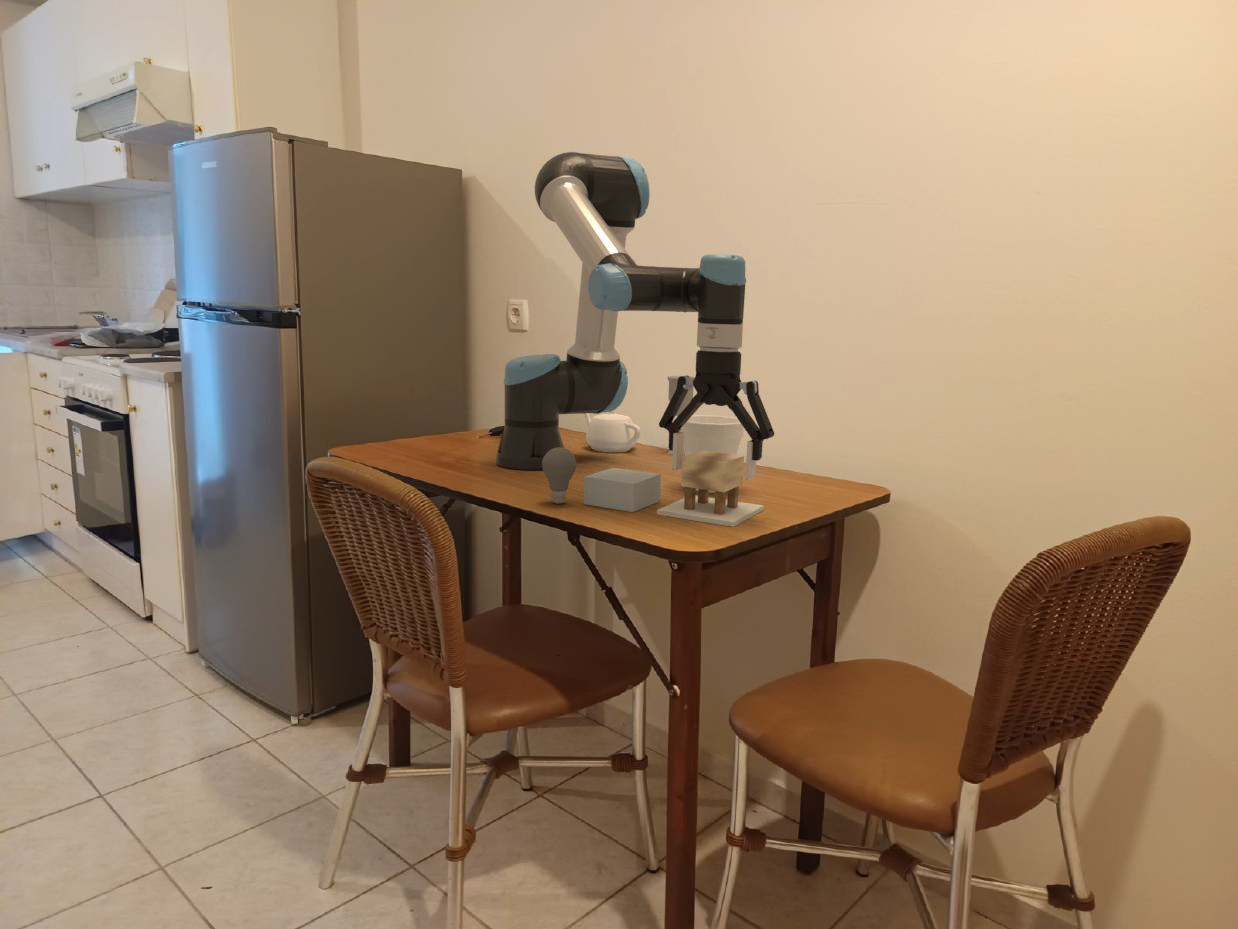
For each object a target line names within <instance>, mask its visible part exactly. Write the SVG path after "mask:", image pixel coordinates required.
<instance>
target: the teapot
mask: <svg viewBox="0 0 1238 929" xmlns="http://www.w3.org/2000/svg"><path fill="white" fill-rule="evenodd" d="M616 411H617V409H615V410H614V411H611V412H606V413H604V414H602V413H601V414H596V415H594V416H593V417H592V418H591V417H590V413H583V415H584V417H585V419H586V424H587V431H586V434H585V440H586V442H587V445H589V446H590V448H591V449H592V450H593V449H594V450H593V451H595V450H597V451H596V452H600V451H602V453H617V452H618V453H625V452H628V451H630V450H631V449H632V448H633V447H634V446H635V445H636V443H637V441H638V440H639V439H640V437H641V432H642V431H641V428H640V426H639V425H638V424H635V423H634V422H633V420H632V418H631V417H630V416H628V415H623V414H621V413H619V414H618V413H617V412H616Z"/></svg>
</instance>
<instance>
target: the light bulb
mask: <svg viewBox="0 0 1238 929" xmlns="http://www.w3.org/2000/svg"><path fill="white" fill-rule="evenodd" d="M542 468H543V469H542V470H543V474H544V475H545V477H546V478H547V481H548V485H549V488H550V490H551V491H550V494H551V496H550V497H551V499H550V501H551V502H553V503H555V504H556V505H560V504H563V503H565V502H566V501H567V490H568V488H569V484H570V482H571V479H572V477H573V475H574V474H575V472H576V469H577V461H576V458H575V455H574V454H573V453H572V452H571V451H570V449H567V448H565V447H564V448H560V447H558V448H553V449H551V450H550V451H548V452H547V453H546V455H545V456H544V458H543V461H542Z"/></svg>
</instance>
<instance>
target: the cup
mask: <svg viewBox="0 0 1238 929" xmlns="http://www.w3.org/2000/svg"><path fill="white" fill-rule="evenodd" d="M680 432H684V446H683V447H684V452H685V455H684V457H685V456H688V455H691V454H694V453H697V452H700V451H708V452H716V453H724V454H733V455H738V454H737V453H738V451H739V449H740V448H739V446H740V444H741V440H742V438H744V427H743V426H742V424H741V423H740V421H739V420H738V418H737V417H733V416H725V415H717V414H716V415H714V414H713V415H711V414H710V415H709V414H693V415H692V416H691V417H690V419H689V420H688V421H687V422H686V423H685V424H684V425H683V426H682V428H681V430H680ZM696 492H698V489H697V488H696ZM709 494H715V491H711V490H709Z"/></svg>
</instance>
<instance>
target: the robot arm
mask: <svg viewBox="0 0 1238 929" xmlns="http://www.w3.org/2000/svg"><path fill="white" fill-rule="evenodd" d="M534 182H535V183H534V197H535V200H536V203H537V205H538V208H539V209H540V211H541V212H542V214H543V215H544V217H546V218H547V219H548V220H549V221H551V222H554V223H555V224H556V225H557V227H558V229H560V231H561V233H562V234H563V236H564V237H565V239H566V240H567V242H568V243H569V245H570V247H572V249H573V251H574V252H575V254H576V255H577V257H578V258H579V259H580V262H582V263H581V272H580V273H581V275H580V283H579V284H580V285H579V296H578V306H577V317H576V329H575V339H574V343H573V345H572V346H570V347H569V348H567V352H566V360H561V358H560V355H558V354H557V353H556V354H555V353H545V354H533V355H523V356H520V357H514V358H513V359H510V360H508V362H507V363H506V364H505V369H504V379H503V385H504V428H503V429H504V430H503V431H502V435H501V438H500V442H499V443H498V444H499V445H498V449H497V450H496V454H495V456H496V465H497V466H500V467H503V468H508V469H513V470H529V471H531V470H543V468H542V461H543V458H544V456H545V455H546V453H547V452H548V451H550V450H551V449H553V448H558V447H560V448H565V445H564V441H563V439H562V436H561V431H560V425H559V424H560V423H559V422H560V420H559V419H560V415H578V414H579V415H581V414H583V413H589V414H594V415H600V414H602V413H609V412H611V411H614V410H615V409H616V410H617V409H618V407H620V406H621V404H622V403H623V401H624V400H625V398H626V395H627V390H628V384H629V376H628V375H627V374H628V371H627V367H626V365H625V364H624V362H622V361H621V360H620V359H621V355H620V354H619V352H618V351H617V350H616V348H615V344H616V342H615V341H616V332H617V326H618V325H617V324H618V314H619V312H634V311H635V312H638V311H639V312H641V311H643V312H671V313H673V312H676V313H697V334H696V346H697V347H699V348H700V349H698V350H697V351H696V354H695V376H694V377H695V378H690V377H691V376H690V377H689V375H679V376H680V377H679V378H678V381H677V388H676V391H675V393H674V395H673V397H672V399H671V401H670V402H668V404H667V406H666V408H665V410H664V413H663V415H662V417H661V418H660V421H659V423H658V427H659V428H661V429H662V428H663V429H665V430H666V431H668V451H669V450H673V454H672V459H671V460H672V464H671V471H676V472H677V471H679V470H682V457H684V455H683V446H684V432H679V430H681V428H682V426H683V425H684V424H685V423H686V422H687V421H688V420H689V419H690V417H691V416H692V415H695V413H696V412H697V411H698V409H699V408H700V407H701V406H702V405H704V404H705V406H712V405H715V406H719V407H724V406H727V407H728V409H730V411H732V412H733V414H734V416H735V418H738V420H739V421H740V423H741V424H742V426H743V430H745V431H746V433H747V434H748V436H749V437H750V440H748V441H747V443H746V457H745V458H746V459H745V460H746V461H745V476H744V477H745V478H744V479H745V480H744V481H751V480H754V479H756V474H757V473H756V472H757V461H760V460H761V459H762V457H763V442H764V441H765V440H768V439H771V438H773V437H775V431H774V429H773V426H772V424H771V420H770V417H769V416H768V413H767V411H766V409H765V406H764V403H763V401H762V399H761V395H760V390H759V382H758V381H757V380H750V381H742V380H741V370H742V369H741V366H742V353H741V351H739V349H742V347H743V332H744V331H743V328H744V326H743V325H744V324H743V323H744V313H745V312H744V311H745V296H746V284H747V277H746V260H745V258H744V257H743V256H741V255H738V254H737V255H736V254H717V253H716V254H705V255H703V256H702V257H701V259H700V264H699V267H673V266H671V267H670V266H654V265H653V266H652V265H651V266H650V265H639V264H637V263H636V262H635V261H634V259H633V258H632V257H631V256H630V253H628V251H627V250H626V241H627V236H628V234H630V233H631V232H632V231H633V230H634V229H635V228H636V226H635V225H636V220H638V219H640V218H642V217H643V216H644V215H645V214H646V213H647V209H648V207H649V202H650V183H649V179H648V175H647V173H646V171H645V168H644V167H643V165H642V164H641V163H640V162H639V161H637V160H635V159H631V158H626V157H624V156H623V157H622V156H619V155H617V156H616V155H601V154H592V153H580V152H578V151H568V152H562V153H560V154H559V153H558V154H557V155H555V156H553V157H551V158H550V159H548V160H547V161H546V162H545V163H544V164H543V166H542V167H541V169H540V170H539V171H538V173H537V175H536V178H535V181H534ZM692 385H693V386H694V387H693V389H694V390H695V391H696V394H695V395H693V398H692V400H691V402H690V403H689V404H688V405H687V406H686V408H685V409H684V410H683V411H682V412H681V413H680V414H679V416H678V417H677V416H676V414H677V412H678V410H679V408H680V406H681V404H682V402H683V400H684V398H685V396H686V394H687V392H688V389H690V388H691V387H692ZM741 390H742V391H743V393H744V394H745V395H746V397H747V401H748V404H749V406H750V409H751V410H752V414H753V415H754V419H755V420H754V419H753V417H752V416H751V414H749V411H748V410H747V408H746V407H745V406H744V404H743V401H742V400H741V398H740V397H739V395H738V394H739V393H740V391H741ZM583 415H584V414H583ZM675 417H676V418H675ZM755 421H756V422H755Z"/></svg>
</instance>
